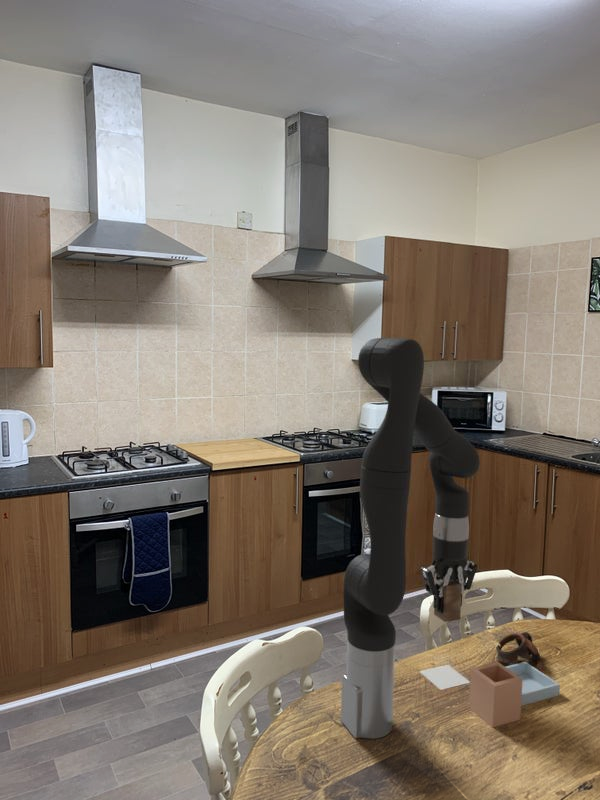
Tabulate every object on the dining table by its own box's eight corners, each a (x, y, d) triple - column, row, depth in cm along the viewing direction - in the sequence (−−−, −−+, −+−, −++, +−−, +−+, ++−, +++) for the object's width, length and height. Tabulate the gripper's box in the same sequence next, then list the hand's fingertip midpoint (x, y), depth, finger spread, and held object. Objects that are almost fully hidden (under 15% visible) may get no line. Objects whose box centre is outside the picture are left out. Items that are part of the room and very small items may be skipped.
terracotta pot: (492, 730, 119) (494, 686, 118) (468, 710, 125) (470, 668, 124) (520, 722, 122) (522, 679, 121) (495, 703, 128) (498, 661, 127)
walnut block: (445, 622, 133) (446, 586, 132) (434, 614, 136) (435, 579, 136) (460, 619, 134) (461, 583, 134) (448, 611, 138) (450, 577, 137)
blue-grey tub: (511, 711, 125) (512, 697, 125) (478, 685, 134) (479, 672, 134) (559, 697, 130) (559, 684, 130) (524, 674, 139) (525, 661, 139)
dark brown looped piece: (543, 683, 137) (526, 652, 136) (504, 688, 142) (487, 658, 142) (550, 648, 147) (534, 619, 146) (513, 653, 152) (498, 625, 152)
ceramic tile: (440, 692, 131) (440, 689, 131) (419, 673, 139) (419, 671, 139) (470, 684, 135) (470, 682, 135) (448, 667, 142) (448, 664, 142)
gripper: (434, 543, 127) (430, 622, 129) (488, 535, 133) (484, 612, 135) (413, 532, 134) (410, 608, 136) (466, 526, 140) (462, 598, 141)
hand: (447, 609), depth 135 cm, fingers closed on walnut block, 4 cm apart
